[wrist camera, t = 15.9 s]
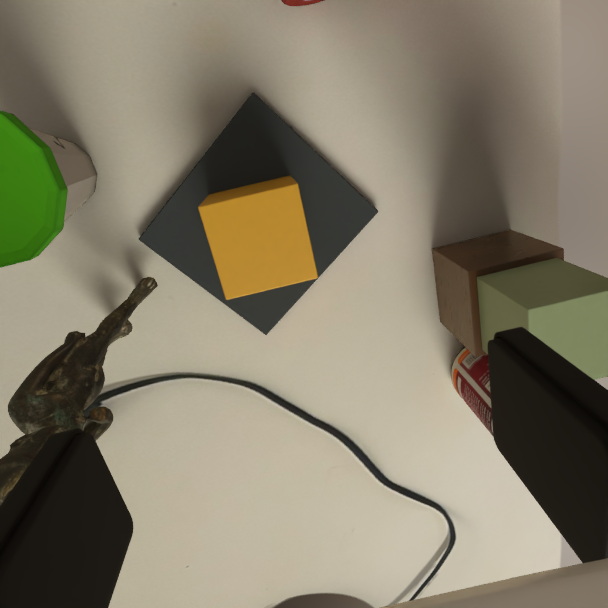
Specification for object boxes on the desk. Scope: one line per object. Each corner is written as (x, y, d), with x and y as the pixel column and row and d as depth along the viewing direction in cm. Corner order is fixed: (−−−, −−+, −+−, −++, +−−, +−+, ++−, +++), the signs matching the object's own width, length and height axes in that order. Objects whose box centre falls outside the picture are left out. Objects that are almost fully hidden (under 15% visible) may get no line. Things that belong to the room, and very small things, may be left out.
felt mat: (253, 92, 30) (253, 91, 29) (376, 210, 34) (378, 211, 33) (140, 237, 33) (138, 239, 32) (266, 332, 36) (266, 335, 36)
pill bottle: (500, 402, 41) (581, 490, 31) (438, 391, 40) (502, 479, 30) (527, 342, 39) (624, 415, 29) (463, 329, 38) (540, 400, 28)
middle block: (556, 257, 29) (627, 285, 24) (557, 331, 31) (623, 373, 26) (476, 276, 29) (528, 309, 24) (481, 349, 31) (530, 395, 26)
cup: (117, 117, 30) (-7, 97, 16) (125, 233, 32) (23, 305, 18) (-8, 106, 29) (-260, 76, 15) (10, 227, 31) (-189, 297, 17)
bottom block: (511, 229, 35) (564, 248, 29) (514, 304, 37) (564, 335, 31) (431, 248, 35) (468, 271, 29) (440, 322, 37) (475, 357, 31)
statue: (190, 299, 35) (110, 487, 16) (136, 351, 36) (4, 586, 17) (141, 257, 33) (-9, 411, 14) (87, 314, 34) (-118, 525, 16)
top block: (290, 174, 31) (297, 182, 26) (308, 255, 34) (318, 278, 28) (208, 194, 31) (197, 206, 26) (231, 273, 34) (225, 300, 28)
